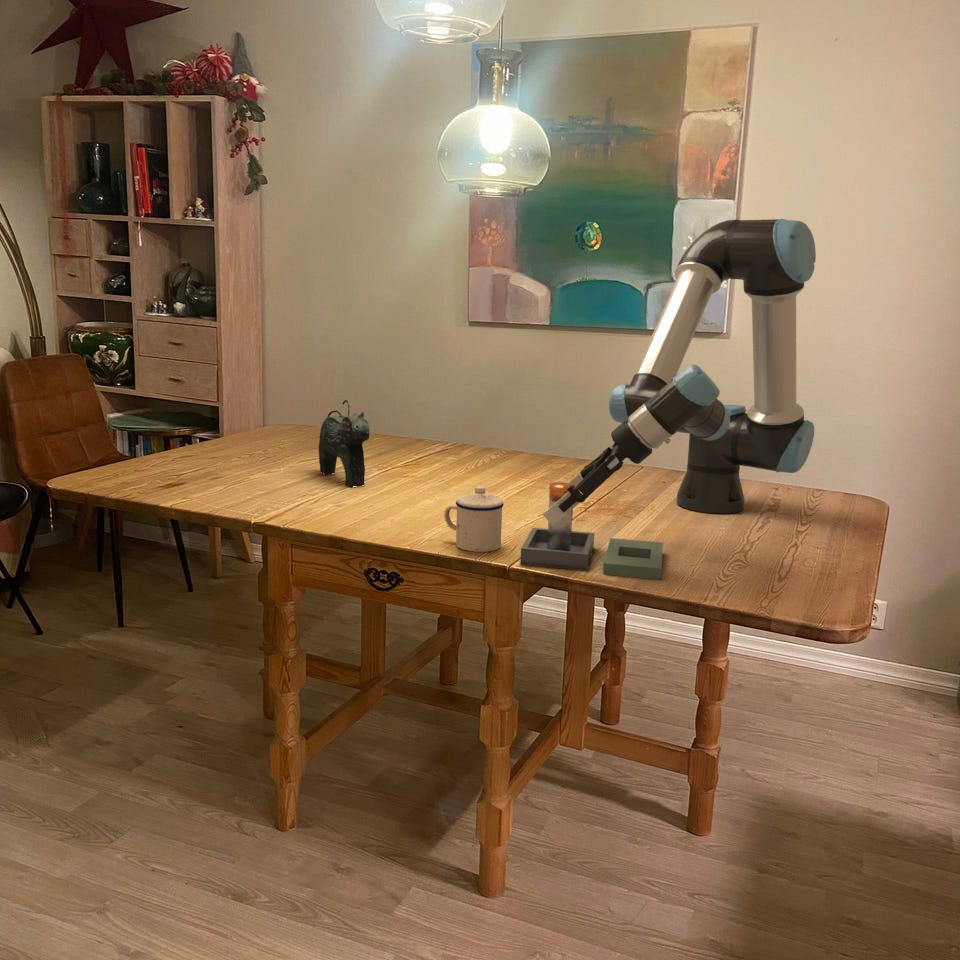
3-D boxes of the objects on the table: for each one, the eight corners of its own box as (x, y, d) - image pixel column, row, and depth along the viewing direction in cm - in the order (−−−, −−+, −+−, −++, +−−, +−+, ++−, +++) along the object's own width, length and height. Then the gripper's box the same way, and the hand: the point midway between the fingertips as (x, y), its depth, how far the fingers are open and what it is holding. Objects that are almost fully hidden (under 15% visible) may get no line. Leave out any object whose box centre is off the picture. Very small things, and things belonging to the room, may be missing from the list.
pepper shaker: (547, 548, 177) (551, 481, 174) (572, 550, 176) (575, 483, 173) (544, 555, 172) (547, 487, 169) (569, 557, 171) (573, 489, 168)
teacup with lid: (509, 543, 181) (512, 485, 178) (488, 556, 173) (490, 495, 170) (455, 534, 186) (457, 477, 183) (432, 545, 178) (434, 486, 175)
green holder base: (609, 547, 180) (610, 537, 179) (662, 552, 178) (663, 542, 178) (602, 573, 165) (603, 563, 164) (660, 579, 163) (661, 568, 162)
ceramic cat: (372, 487, 221) (372, 404, 217) (347, 490, 218) (347, 405, 213) (334, 470, 237) (334, 392, 233) (311, 473, 234) (310, 394, 229)
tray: (532, 542, 182) (532, 527, 181) (593, 547, 180) (594, 532, 179) (520, 564, 169) (520, 548, 168) (586, 570, 166) (587, 554, 166)
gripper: (651, 465, 154) (557, 544, 161) (656, 437, 178) (574, 507, 184) (621, 432, 154) (528, 512, 160) (630, 408, 177) (549, 479, 184)
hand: (553, 509), depth 172 cm, fingers open, 13 cm apart
